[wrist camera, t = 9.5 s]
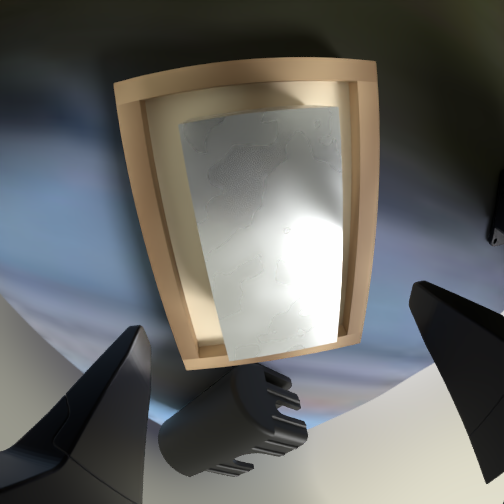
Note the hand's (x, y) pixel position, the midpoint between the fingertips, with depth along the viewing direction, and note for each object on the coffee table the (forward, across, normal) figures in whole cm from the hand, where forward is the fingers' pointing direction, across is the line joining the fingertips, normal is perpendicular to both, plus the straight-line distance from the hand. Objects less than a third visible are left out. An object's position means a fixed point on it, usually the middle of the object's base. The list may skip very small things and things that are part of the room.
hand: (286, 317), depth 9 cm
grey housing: (+6, 0, -1) cm, 6 cm away
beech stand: (+8, 0, 0) cm, 8 cm away
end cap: (+9, +4, +15) cm, 18 cm away
